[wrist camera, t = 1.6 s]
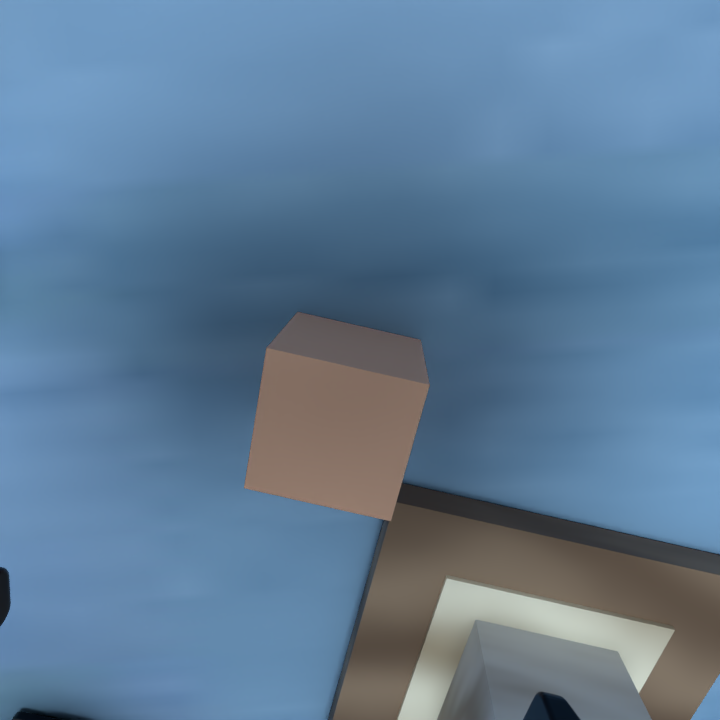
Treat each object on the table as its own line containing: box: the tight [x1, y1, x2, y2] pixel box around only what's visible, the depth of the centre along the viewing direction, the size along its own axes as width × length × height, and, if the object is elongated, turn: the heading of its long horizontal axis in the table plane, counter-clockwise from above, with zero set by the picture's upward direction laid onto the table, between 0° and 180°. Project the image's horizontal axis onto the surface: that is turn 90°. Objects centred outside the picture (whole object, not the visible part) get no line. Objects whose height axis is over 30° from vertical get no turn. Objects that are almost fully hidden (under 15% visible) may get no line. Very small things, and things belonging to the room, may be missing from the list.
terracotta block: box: [244, 312, 430, 521], centre depth 17 cm, size 5×5×5 cm
